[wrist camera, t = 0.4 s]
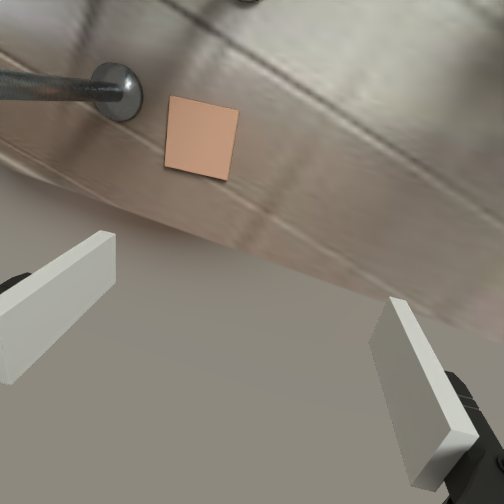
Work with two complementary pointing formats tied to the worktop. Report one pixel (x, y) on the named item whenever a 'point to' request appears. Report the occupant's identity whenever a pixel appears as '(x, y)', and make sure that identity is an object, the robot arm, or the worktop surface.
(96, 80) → the post
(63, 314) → the robot arm
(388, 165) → the worktop surface
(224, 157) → the trivet
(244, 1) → the post
